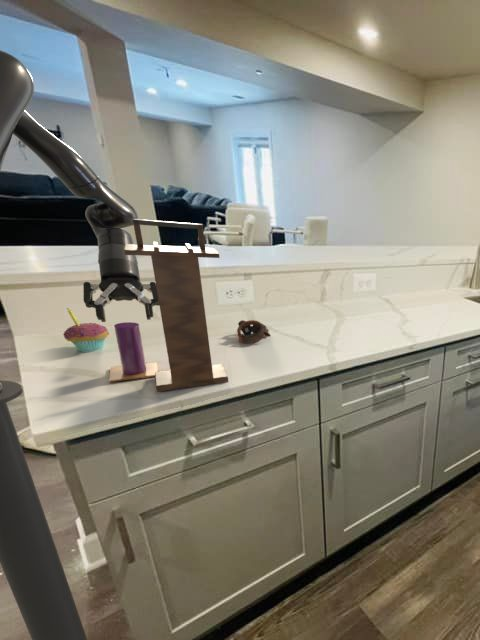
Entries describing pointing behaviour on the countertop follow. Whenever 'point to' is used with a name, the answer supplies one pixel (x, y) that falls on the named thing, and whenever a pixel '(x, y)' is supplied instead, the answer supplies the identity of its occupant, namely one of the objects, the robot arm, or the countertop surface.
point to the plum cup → (130, 347)
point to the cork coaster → (118, 374)
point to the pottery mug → (257, 329)
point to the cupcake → (86, 335)
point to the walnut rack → (181, 308)
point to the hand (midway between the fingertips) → (126, 319)
